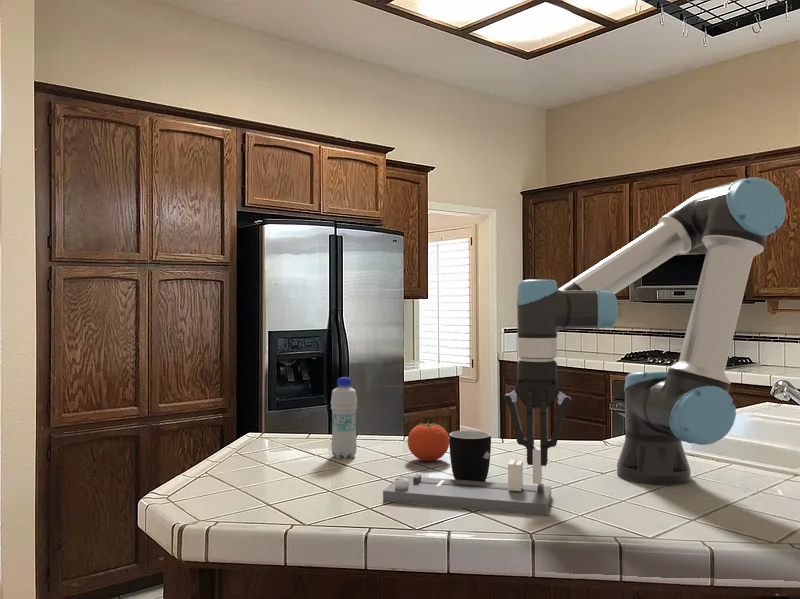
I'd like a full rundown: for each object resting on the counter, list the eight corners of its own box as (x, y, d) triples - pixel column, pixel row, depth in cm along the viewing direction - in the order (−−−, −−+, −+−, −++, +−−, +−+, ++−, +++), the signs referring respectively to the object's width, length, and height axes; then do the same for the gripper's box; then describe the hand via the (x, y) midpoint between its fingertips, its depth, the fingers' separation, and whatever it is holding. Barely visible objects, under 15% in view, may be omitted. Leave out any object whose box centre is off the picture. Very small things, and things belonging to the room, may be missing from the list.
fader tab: (522, 486, 131) (522, 459, 131) (520, 490, 127) (520, 463, 127) (510, 485, 131) (510, 458, 131) (508, 490, 128) (507, 463, 128)
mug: (488, 488, 137) (488, 439, 138) (445, 485, 140) (445, 437, 140) (495, 474, 149) (495, 428, 149) (455, 471, 151) (455, 427, 151)
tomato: (458, 462, 160) (457, 420, 160) (424, 468, 155) (423, 425, 155) (432, 454, 169) (432, 415, 169) (399, 459, 163) (399, 419, 163)
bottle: (362, 455, 167) (362, 376, 168) (346, 461, 162) (346, 379, 162) (341, 452, 171) (341, 374, 171) (325, 457, 165) (324, 377, 166)
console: (551, 496, 131) (551, 478, 131) (546, 515, 120) (546, 494, 120) (400, 485, 140) (400, 467, 140) (383, 501, 129) (383, 481, 129)
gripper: (572, 358, 130) (572, 479, 130) (505, 357, 134) (505, 474, 133) (571, 362, 123) (571, 489, 122) (500, 360, 126) (500, 484, 126)
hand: (537, 481), depth 128 cm, fingers closed
